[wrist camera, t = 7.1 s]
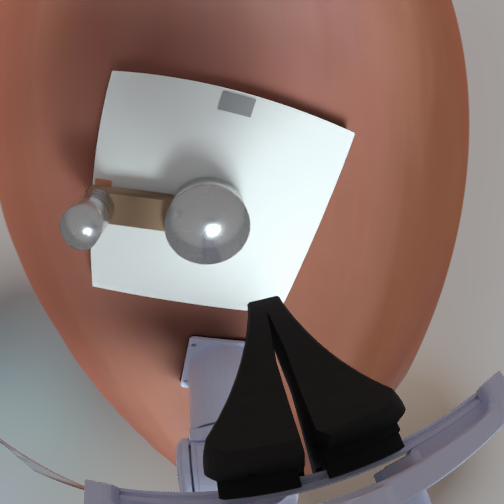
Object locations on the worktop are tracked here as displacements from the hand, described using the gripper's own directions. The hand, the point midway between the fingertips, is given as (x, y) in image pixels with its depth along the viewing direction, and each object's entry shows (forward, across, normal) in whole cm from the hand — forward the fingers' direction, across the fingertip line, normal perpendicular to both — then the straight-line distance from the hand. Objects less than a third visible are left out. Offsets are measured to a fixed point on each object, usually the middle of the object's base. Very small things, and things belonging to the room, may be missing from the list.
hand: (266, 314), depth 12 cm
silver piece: (+8, +5, -3) cm, 10 cm away
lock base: (+9, +2, -2) cm, 10 cm away
